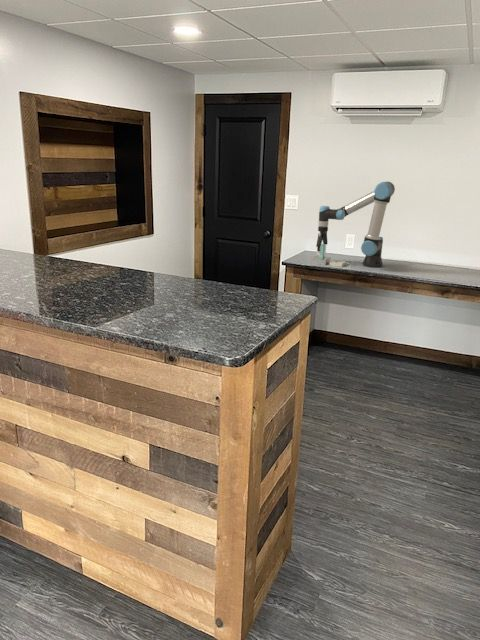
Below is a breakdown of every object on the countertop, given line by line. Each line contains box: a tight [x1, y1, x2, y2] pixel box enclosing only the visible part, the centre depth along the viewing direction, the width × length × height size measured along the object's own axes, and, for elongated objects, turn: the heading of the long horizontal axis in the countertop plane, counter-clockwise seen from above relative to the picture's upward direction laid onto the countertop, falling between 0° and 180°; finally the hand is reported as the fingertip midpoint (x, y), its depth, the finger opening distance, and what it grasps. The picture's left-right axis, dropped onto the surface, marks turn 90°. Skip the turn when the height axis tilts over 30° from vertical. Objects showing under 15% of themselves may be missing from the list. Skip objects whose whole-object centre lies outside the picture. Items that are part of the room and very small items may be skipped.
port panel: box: [310, 254, 332, 266], centre depth 402 cm, size 12×12×5 cm
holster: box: [328, 259, 347, 267], centre depth 396 cm, size 10×10×2 cm
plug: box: [318, 243, 325, 259], centre depth 401 cm, size 4×4×15 cm
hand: (321, 253), depth 401 cm, fingers open, 12 cm apart
